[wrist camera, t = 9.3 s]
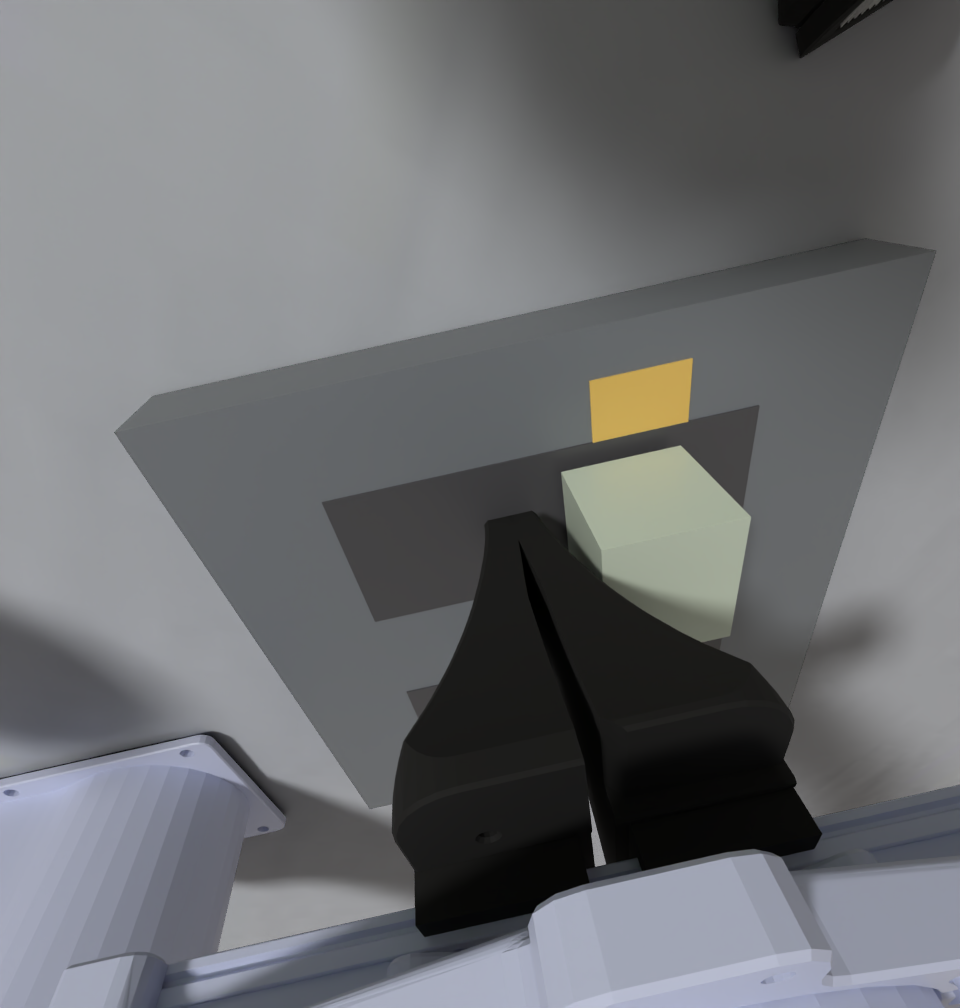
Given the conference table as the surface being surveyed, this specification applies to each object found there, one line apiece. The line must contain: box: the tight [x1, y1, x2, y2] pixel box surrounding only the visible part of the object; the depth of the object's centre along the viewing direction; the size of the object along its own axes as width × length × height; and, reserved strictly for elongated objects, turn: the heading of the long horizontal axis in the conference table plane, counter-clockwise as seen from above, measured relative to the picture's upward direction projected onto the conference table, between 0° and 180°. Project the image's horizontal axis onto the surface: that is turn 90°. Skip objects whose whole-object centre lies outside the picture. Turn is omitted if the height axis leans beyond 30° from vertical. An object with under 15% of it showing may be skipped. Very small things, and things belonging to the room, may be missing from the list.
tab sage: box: [561, 445, 751, 642], centre depth 12 cm, size 3×4×3 cm
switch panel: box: [114, 239, 936, 809], centre depth 17 cm, size 18×18×2 cm
